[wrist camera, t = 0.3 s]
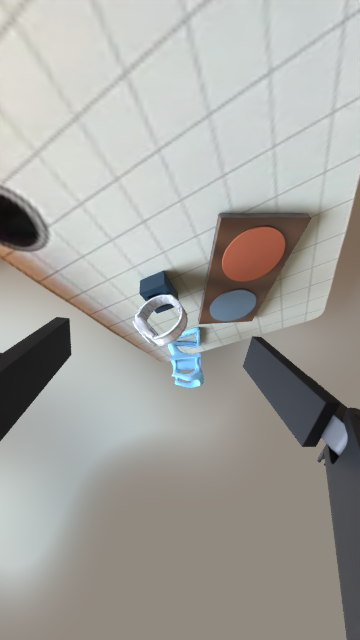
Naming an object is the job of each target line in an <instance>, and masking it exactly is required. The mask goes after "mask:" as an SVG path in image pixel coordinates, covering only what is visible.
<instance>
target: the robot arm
mask: <svg viewBox="0 0 360 640" xmlns="http://www.w3.org/2000/svg"><path fill="white" fill-rule="evenodd" d="M70 356H71V342H70V321H69V318H60V317H56V318H55V319H53V320H52V321H50V322H49V323H47V324H46V325H44V326H43V327H41V328H40V329H38V330H37V331H35V332H34V333H32V334H31V335H29V336H28V337H26V338H25V339H23V340H22V341H20V342H19V343H17V344H16V345H14V346H13V347H11V348H10V349H8V350H7V351H5V352H4V353H0V441H1V440H2V439H3V437H4V436H5V435H6V434H7V432H8V431H9V430H10V428H12V426H13V425H14V424H15V423H16V422H17V420H18V419H19V418H20V417H21V415H22V414H23V413H24V412H25V411H26V409H27V408H28V407H29V406H30V404H31V403H32V402H33V401H34V400H35V398H36V397H37V396H38V395H39V393H40V392H41V391H42V390H43V389H44V387H45V386H46V385H47V384H48V382H49V381H50V380H51V379H52V378H53V376H54V375H55V374H56V373H57V371H58V370H59V369H60V368H61V367H62V365H63V364H64V363H65V362H66V361H67V359H68V358H69V357H70ZM243 367H244V369H245V370H246V371H247V373H248V374H249V375H250V377H251V378H252V379H253V381H254V382H255V383H256V385H257V386H258V388H259V389H260V390H261V392H262V393H263V394H264V396H265V397H266V398H267V400H268V401H269V402H270V404H271V405H272V407H273V408H274V409H275V411H276V412H277V413H278V415H279V416H280V417H281V419H282V420H283V421H284V423H285V424H286V425H287V427H288V428H289V430H290V431H291V432H292V434H293V435H294V436H295V438H296V439H297V440H298V442H299V443H300V444H301V446H302V447H316V445H317V444H318V442H319V440H320V438H322V439H323V440H324V441H325V442H326V443H327V444H326V446H325V447H324V449H323V451H322V452H321V454H320V456H319V457H318V460H317V461H318V462H321V460H322V459H325V464H324V465H325V466H326V472H327V480H328V489H329V497H330V505H331V513H332V521H333V530H334V538H335V546H336V555H337V563H338V571H339V579H340V587H341V596H342V604H343V612H344V620H345V628H346V637H347V640H360V410H359V409H356V408H347V407H346V406H344V405H343V404H342V403H341V402H340V401H339V400H337V399H336V398H335V397H334V396H332V395H331V394H330V393H329V392H328V391H326V390H324V388H323V387H321V386H320V385H318V383H317V382H316V381H314V380H313V379H312V378H311V377H309V376H307V375H306V374H305V373H304V372H303V371H301V370H300V369H299V368H298V367H297V366H295V365H294V364H293V363H292V362H291V361H289V360H288V359H287V358H286V357H285V356H283V355H282V354H281V353H280V352H279V351H277V350H276V349H275V348H274V347H272V346H271V345H270V344H269V343H268V342H266V341H265V340H264V339H263V338H261V337H254V336H252V340H251V343H250V346H249V349H248V352H247V355H246V358H245V362H244V365H243Z"/></svg>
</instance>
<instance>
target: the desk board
mask: <svg viewBox="0 0 360 640" xmlns="http://www.w3.org/2000/svg"><path fill="white" fill-rule="evenodd" d="M311 218H312V217H310V216H309V215H308V214H219V215H218V220H217V226H216V231H215V236H214V241H213V246H212V251H211V257H210V262H209V267H208V272H207V277H206V282H205V287H204V293H203V298H202V303H201V308H200V313H199V318H198V322H199V324H211V323H230V322H248V321H252V320H253V318H254V317H255V315H256V313H257V311H258V310H259V308H260V306H261V305H262V303H263V301H264V299H265V298H266V296H267V294H268V292H269V291H270V289H271V287H272V286H273V284H274V282H275V280H276V279H277V277H278V275H279V274H280V272H281V270H282V268H283V267H284V265H285V263H286V261H287V260H288V258H289V256H290V255H291V253H292V251H293V249H294V248H295V246H296V244H297V243H298V241H299V239H300V237H301V236H302V234H303V232H304V230H305V229H306V227H307V225H308V224H309V222H310V220H311ZM259 226H270V227H273V228H276V229H277V230H279V231H280V232H281V233H282V235H283V236H284V239H285V249H284V253H283V255H282V257H281V259H280V260H279V262H278V263H277V264H276V265H275V267H273V268H272V269H271V270H270V271H269V272H268V273H266V274H265V275H263V276H261V277H259V278H256V279H254V280H250V281H235V280H232V279H230V278H229V277H228V276H227V275H226V274H225V273H224V271H223V268H222V259H223V255H224V253H225V250H226V249H227V247H228V246H229V244H230V243H231V242H232V241H233V240H234V239H235V238H236V237H237V236H239V235H240V234H241V233H243V232H245V231H247V230H249V229H251V228H255V227H259ZM236 289H244V290H248V291H251V292H252V293H253V294H254V295H255V297H256V305H255V307H254V308H253V310H252V311H251V312H249V313H248V314H247V315H245V316H244V317H241V318H239V319H236V320H232V321H219V320H216V319H215V318H213V317H212V316H211V314H210V306H211V304H212V302H213V301H214V300H215V299H216V298H217V297H218V296H220V295H221V294H223V293H225V292H228V291H231V290H236Z"/></svg>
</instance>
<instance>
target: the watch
mask: <svg viewBox="0 0 360 640" xmlns="http://www.w3.org/2000/svg"><path fill="white" fill-rule="evenodd" d="M140 295H141V296H142V297H143V298H144V299H145V301H146V303H145V304H144V305H143V306H142V307H141V308H140V310H139V312H138V313H137V314H136V315H135V321H133V324H134V326H135V327H136V328H137V330H138V331H139V332H140V333H141V335H142V336H143V337H144V338H145V339H146V340H147V341H148V342H149V343H150V344H152V345H153V346H156V344H157V345H159V346H164V345H166V344H167V345H168V344H170V343H172V342H174V341H176V340H177V338H179V337H180V336H181V335H182V333H183V332H184V330H185V328H186V326H187V321H188V320H187V313H186V311H185V310H184V308H183V307H182V305H181V304H180V302H179V300H178V293H177V291H176V289H175V288H174V286H173V285H172V283H171V282H170V280H169V278H168V277H167V275H166V274H165V272H164V271H162V272H159V273H157V274H155V275H152V276H150V277H148V278H145V279H143V280H141V281H140ZM145 307H146V308H147V309H146V308H145ZM174 307H175V308H177V309H178V311H179V314H180V315H181V316H180V317H179V321H177V323H176V324H175V326H173V327H172V328H171V329H170V330H171V331H170V330H169V331H168V332H166V333H165V334H162V335H158V334H157V333H156V331H155V330H154V329H153V328H152V327H151V326H150V325H149V324H148V323H147V319H148V318H149V316H150V315H149V314H151V313H152V312H153V311H155V312H156V313H160V312H163V311H166V310H168V309H171V308H174ZM171 338H172V339H171Z"/></svg>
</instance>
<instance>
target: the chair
mask: <svg viewBox="0 0 360 640" xmlns="http://www.w3.org/2000/svg"><path fill="white" fill-rule="evenodd" d="M196 332H197V343H192V342H177V341H174V342H172V343H170V344H168V347H169V349H170V351H171V354H172V356H171V363H172V366H173V370H174V372H173V375H172V376H173V377H176V382H175V385H181V386H184V387H188V388H192V387H196V386H200V385H201V384H203V373H202V370H201V368H200V361H201V355H200V353H195V354H188V353H183V352H181V351H180V350H179V349H178V348H177V347H176V346H187V347H198V346H200V329H199V327H197V328H193V329H190V330H187V331H184V332H183V333H182V335H181V336H180V337H179V338H181V337H184V336H187V335H190V334H193V333H196ZM171 339H172V338H171ZM177 339H178V338H177ZM186 369H195V371H194V372H192V373H189V374H183V373H179V371H181V370H186ZM179 378H181V379H183V380H187V381H192V382H190V383H185V382H182V381H179ZM193 380H194V381H193Z"/></svg>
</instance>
